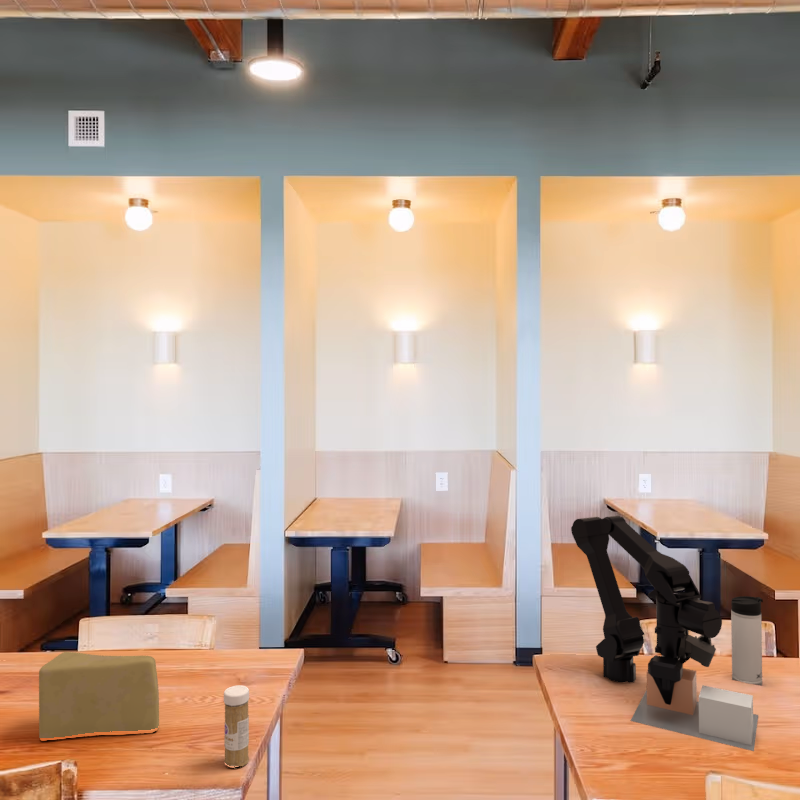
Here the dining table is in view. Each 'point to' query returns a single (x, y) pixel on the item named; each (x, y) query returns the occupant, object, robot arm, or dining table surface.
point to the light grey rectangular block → (726, 714)
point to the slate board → (682, 722)
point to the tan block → (675, 693)
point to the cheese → (97, 694)
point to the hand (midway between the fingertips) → (671, 695)
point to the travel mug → (746, 639)
